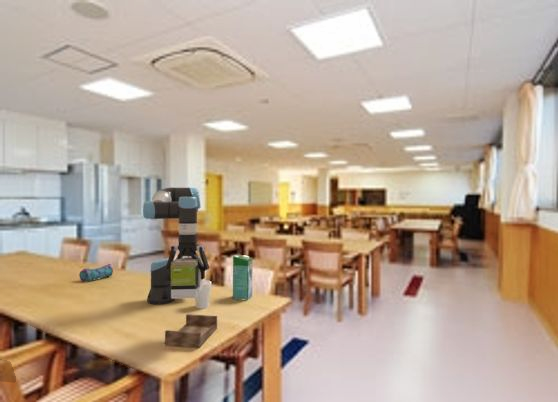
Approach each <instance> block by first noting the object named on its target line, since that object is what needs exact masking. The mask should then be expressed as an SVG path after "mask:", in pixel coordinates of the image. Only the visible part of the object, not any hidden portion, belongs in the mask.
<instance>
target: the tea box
mask: <svg viewBox="0 0 558 402" xmlns="http://www.w3.org/2000/svg"><path fill="white" fill-rule="evenodd" d="M198 257H199V259H200V261H201V262H202V260H201V257H200V255H198ZM199 271H200V269H199V268H198V259H197V260H196V259H193V258H192V257H191V256H183V257H182V258H180V259H176V258H174V260H173V261H172V262H171V298H172V299H175V300H178V299H195V298H196V296H197V295H198V294H199V292H200V291H201V289H202V287H201V288H198V282H199Z"/></svg>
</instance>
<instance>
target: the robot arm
mask: <svg viewBox="0 0 558 402" xmlns="http://www.w3.org/2000/svg"><path fill="white" fill-rule="evenodd" d="M201 208H202V207H201V198H200V191H199V189H198V188H196V187H172V186H171V187H165V188H162V189H159V190H157V191H156V192H155V193H154V194H153V196H152V199H151V200H150V201H144V203H143V205H142V216H143V218H144V219H146V220H164V219H166V220H167V219H168V220H171V219H172V220H173V219H177V220H178V233H179V234H178V235H177V236H178V238H177V239H178V240H177V241H178V245H172V246H171V247H170V254H169V257H168V258H161V259H157V260H154V261H152V263H151V264H150V289H149V292H148V295H147V297H146V302H147V303H148V304H150V305H165V304H170V303H172V302H175V301H176V299H172V298H171V262H172V261H174V260H175V259H180V258H182V257H183V256H191V257H192V258H193V259H196V260H197V259H198V268H199V269H200V271H199V282H198V288H201V287H202V286H203V280H205V278H206V271H207V270H209V269H210V265H209V262H208V258H207V256H206V253H205V246H204V245H201V246H198V234H197V233H198V212H199V209H201ZM177 251H178V254H177ZM197 251H198V252H199V255H198V253H197ZM176 254H177V257H176ZM198 256H200V257H201V260H202V262H201V261H200V259H199V257H198ZM175 257H176V258H175Z"/></svg>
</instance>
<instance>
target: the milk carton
mask: <svg viewBox="0 0 558 402" xmlns="http://www.w3.org/2000/svg"><path fill="white" fill-rule="evenodd" d="M251 296H252V297H253V258H252V257H250V255H249V256H248V255H245V254H244V255H242V254H240V253H239V254H238V253H237V254H235V255H233V256H232V300H234V299H245V300H244V301H249V300H250V299H249V298H250V297H251ZM252 297H251V298H252ZM248 299H249V300H248Z"/></svg>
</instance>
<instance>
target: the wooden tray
mask: <svg viewBox="0 0 558 402" xmlns="http://www.w3.org/2000/svg"><path fill="white" fill-rule="evenodd" d="M217 329H218V316H217V315H210V314H209V315H208V314H207V315H206V314H190V313H188V314H186V315H185V324H184V325H183V326H182V327H180V328H179V330H168V329H167V330H165V331H164V346H166V347H177V348H178V347H180V348H189V349H190V348H194V349H200V348H201V347H202V346H203V345H204V344H205V343H206V342H207V340H208V339H209V338H210V337H211V336H212V335H213V333H214V332H215V331H216V330H217Z"/></svg>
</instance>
